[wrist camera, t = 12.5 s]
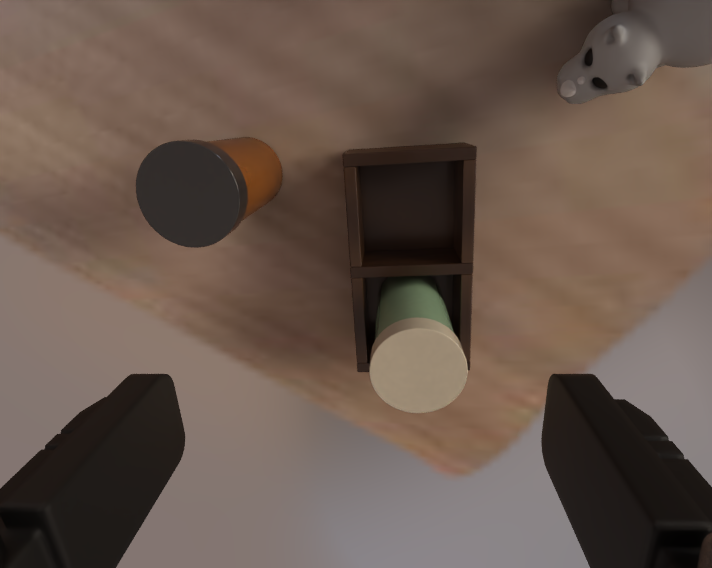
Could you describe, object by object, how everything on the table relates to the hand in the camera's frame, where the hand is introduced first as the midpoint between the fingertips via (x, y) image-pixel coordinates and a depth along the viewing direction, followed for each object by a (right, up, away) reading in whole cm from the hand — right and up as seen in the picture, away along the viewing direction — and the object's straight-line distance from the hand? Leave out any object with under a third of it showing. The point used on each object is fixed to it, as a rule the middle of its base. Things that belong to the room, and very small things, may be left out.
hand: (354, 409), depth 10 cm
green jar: (+4, +1, +26) cm, 27 cm away
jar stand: (+4, +5, +25) cm, 26 cm away
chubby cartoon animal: (+17, +19, +20) cm, 32 cm away
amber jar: (-8, +11, +24) cm, 28 cm away
